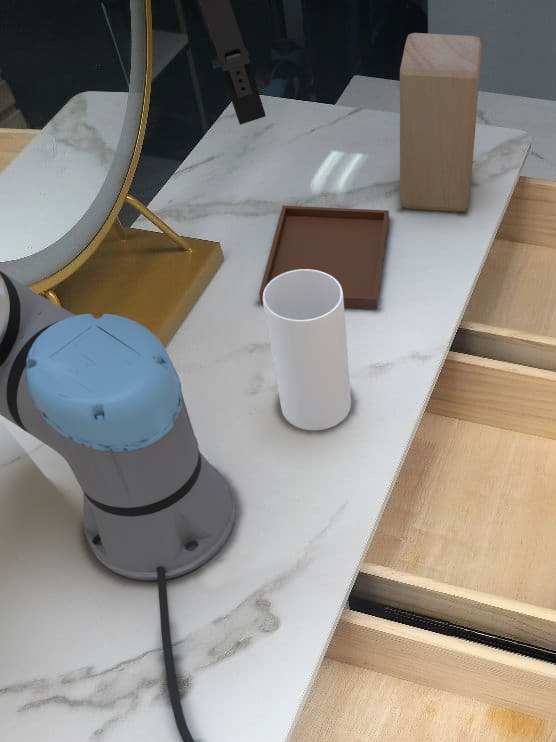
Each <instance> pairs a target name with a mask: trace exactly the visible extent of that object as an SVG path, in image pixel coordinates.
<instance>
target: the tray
mask: <svg viewBox="0 0 556 742" xmlns="http://www.w3.org/2000/svg"><path fill="white" fill-rule="evenodd" d="M389 224H390V210H387V209H367V208H366V209H365V208H345V207H344V208H343V207H324V206H323V207H322V206H302V205H301V206H300V205H298V206H297V205H282V207H281V209H280V214H279V217H278V221H277V224H276V225H277V226H276V229H275V233H274V236H273V239H272V244H271V247H270V252H269V255H268V259H267V263H266V266H265V270H264V273H263V278H262V282H261V286H260V290H259V299H260V304H261V305H262V304H263V292H264V289H265V287H266V286H267V285H268V283H269V282H270V281H271V280H273V279H274V278H275V277H277V276H279V275H281V274H283V273H286V272H289V271H293V270H299V269H311V270H318V271H321V272H324V273H327V274H329V275H331V276H332V277H334V278H335V279H336V280H337V281H338V282H339V284H340V285H341V288H342V291H343V300H344V309H360V310H362V309H363V310H378V304H379V297H380V290H381V289H380V288H381V282H382V274H383V267H384V260H385V253H386V245H387V240H388V231H389Z"/></svg>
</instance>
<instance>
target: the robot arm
mask: <svg viewBox="0 0 556 742" xmlns="http://www.w3.org/2000/svg"><path fill="white" fill-rule="evenodd" d="M196 3H197V7H198V10H199V13H200V15H201V18H202V20H203V24H204V26H205V30H206V33H207V35H208V38H209V41H210V44H213V45H214V48H215V50H216V58H214V59H213V58H212V59H211V60H210V62H211V64H212V67H213V69H217V68H220V71H221V73H222V76H223V80H224V82H225V85H226V88H227V91H228V95H229V97H230V100H231V104H232V106H233V109H234V112H235V116H236V118H237V121H238V124H239V126H241V125H244V124H248V123H250V122H253V121H256V120H259V119H262V118H264V117H266V116H267V115H266V112H265V109H264V105H263V102H262V100H261V96H260V92H259V89H258V85H257V82H256V79H255V76H254V72H253V69H252V67H251V62H250V54H249V52H248V51H247V48H246V46H245V43H244V41H243V38H242V34H241V31H240V29H239V25H238V22H237V19H236V16H235V12H234V9H233V6H232V3H231V0H196ZM0 416H2V417H3V418H5V419H6V420H7V421H9V422H11V423H12V424H14V425H16V426H17V427H19V428H20V429H22V430H23V431H24V432H26V433H27V434H29V435H31V436H32V437H34V438H35V439H37V440H38V441H40V442H41V443H43V444H44V445H46V446H48V447H50V449H52V450H53V451H55V452H57V453H58V455H60V456H61V457H62V458H63V459H64V460H65V461H66V463H67V464H68V466H69V467H70V468H69V469H70V470H71V471H72V473H73V475H74V477H75V479H76V481H77V483H78V485H79V487H80V488H81V490H82V492H83V528H84V532H85V537H86V539H87V542H88V544H89V546H90V549H91V550H92V552H93V553H94V556H95V557H96V558H97V559H98V560H99V562H100V563H101V564H102V565H103V566H104V567H106V568H107V569H109V570H110V571H111V572H113V573H115V574H117V575H120V576H122V577H125V578H128V579H131V580H137V581H149V582H150V581H157V591H158V604H159V615H160V617H159V619H160V633H161V642H162V651H163V658H164V666H165V673H166V674H165V675H166V681H167V687H168V688H167V689H168V693H169V698H170V703H171V708H172V712H173V716H174V720H175V725H176V727H177V729H178V732H179V735H180V737H181V740H182V741H183V742H195V740H194V738H193V736H192V734H191V732H190V729H189V727H188V725H187V722H186V719H185V716H184V711H183V707H182V702H181V699H180V694H179V689H178V682H177V677H176V676H177V675H176V669H175V661H174V654H173V647H172V639H171V628H170V613H169V601H168V592H167V591H168V589H167V580H169V579H173V578H177V577H181V576H183V575H186V574H188V573H190V572H192V571H194V570H196V569H198V568H200V567H201V566H203V565H205V563H207V562H208V561H210V559H212V558H213V557H214V556H215V555H216V554H218V552H219V551H220V550H221V549H222V548H223V546H224V545H225V543H226V542H227V541H228V539H229V537H230V534H231V532H232V530H233V527H234V523H235V517H236V509H235V508H236V507H235V503H234V498H233V495H232V492H231V489H230V487H229V485H228V483H227V481H226V480H225V478H224V476H223V475H222V474H221V473H220V471H219V470H218V469H217V468H216V467H214V465H213V464H212V463H210V462H209V461H208V460H207V458H206V457H205V456H204V455H203V453H202V452H201V451H200V448H199V443H198V439H197V437H196V435H195V432H194V428H193V425H192V422H191V418H190V415H189V412H188V409H187V405H186V401H185V398H184V396H183V390H182V383H181V379H180V376H179V374H178V371H177V369H176V367H175V366H174V364H173V360H171V358H170V356H169V353H168V352H167V350H166V348H165V346H164V344H163V343H162V342H161V340H160V339H159V338H158V337H157V336H156V335H155V334H154V333H153V332H152V331H151V330H149V329H148V328H147V327H145V326H144V325H142V324H141V323H139V322H137V321H135V320H133V319H130V318H127V317H124V316H121V315H117V314H111V313H103V315H102V316H101V317H98V318H97V317H95V316H94V314H93V313H83V314H77V315H76V314H74V313H73V312H71V311H69V310H67V309H65V308H63V307H62V306H60V305H58V304H56V303H55V302H53V301H51V300H50V299H47V298H46V297H44V296H43V295H41V294H39V293H37V292H36V291H34V290H33V289H31V288H30V287H29V286H27V285H26V284H24V282H22V281H19V280H18V279H15V277H12V276H10V275H8V274H7V273H5V272H3V271H2V270H0Z"/></svg>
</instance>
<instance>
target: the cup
mask: <svg viewBox="0 0 556 742" xmlns="http://www.w3.org/2000/svg"><path fill="white" fill-rule="evenodd" d="M263 311H264V316H265V322H266V328H267V334H268V339H269V340H268V341H269V346H270V351H271V356H272V363H273V367H274V373H275V379H276V385H277V392H278V396H279V403H280V408H281V409H280V410H281V413H282V415H283V417H284V419H286V421H287V422H288V423H289V424H291V425H293V426H294V427H296V428H298V429H300V430H301V429H302V430H306V431H322V430H327V429H330V428H333V427H335V426H337V425H339V424H340V423H341V422H342V421H344V420H345V419H346V418H347V416H348V415H349V413H350V411H351V406H352V397H351V384H350V369H349V368H350V367H349V356H348V342H347V329H346V327H347V326H346V316H345V315H346V313H345V308H344V300H343V291H342V288H341V285H340V284H339V282H338V281H337V280H336V279H335V278H334V277H332V276H331V275H329V274H327V273H324V272H321V271H318V270H311V269H299V270H293V271H289V272H286V273H283V274H281V275H279V276H277V277H275V278H274V279H273V280H271V281H270V282H269V283H268V285H267V286H266V287H265V289H264V292H263Z"/></svg>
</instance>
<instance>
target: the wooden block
mask: <svg viewBox="0 0 556 742" xmlns="http://www.w3.org/2000/svg"><path fill="white" fill-rule="evenodd" d="M482 47H483V44H482V40H481V38H480V37H478V36H476V35H461V34H442V33H422V32H412V33H409V34H408V35H407V37H406V39H405V43H404V49H403V54H402V57H401V63H400V68H399V201H400V204H401V206H402V207H403V208H405V209H415V210H429V211H431V210H432V211H445V212H446V211H448V212H465V211H467V210H468V207H469V206H470V199H471V187H472V176H473V164H474V152H475V151H474V150H475V139H476V138H475V137H476V125H477V111H478V97H479V86H480V85H479V83H480V74H481V62H482V61H481V59H482Z"/></svg>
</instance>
